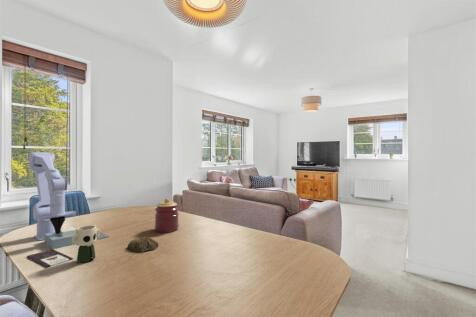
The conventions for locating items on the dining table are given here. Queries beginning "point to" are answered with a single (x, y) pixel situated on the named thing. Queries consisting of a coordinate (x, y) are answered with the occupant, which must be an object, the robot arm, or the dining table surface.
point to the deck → (57, 240)
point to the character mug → (86, 242)
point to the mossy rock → (142, 244)
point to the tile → (67, 231)
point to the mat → (102, 236)
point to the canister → (166, 216)
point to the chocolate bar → (49, 258)
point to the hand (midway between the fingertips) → (57, 233)
